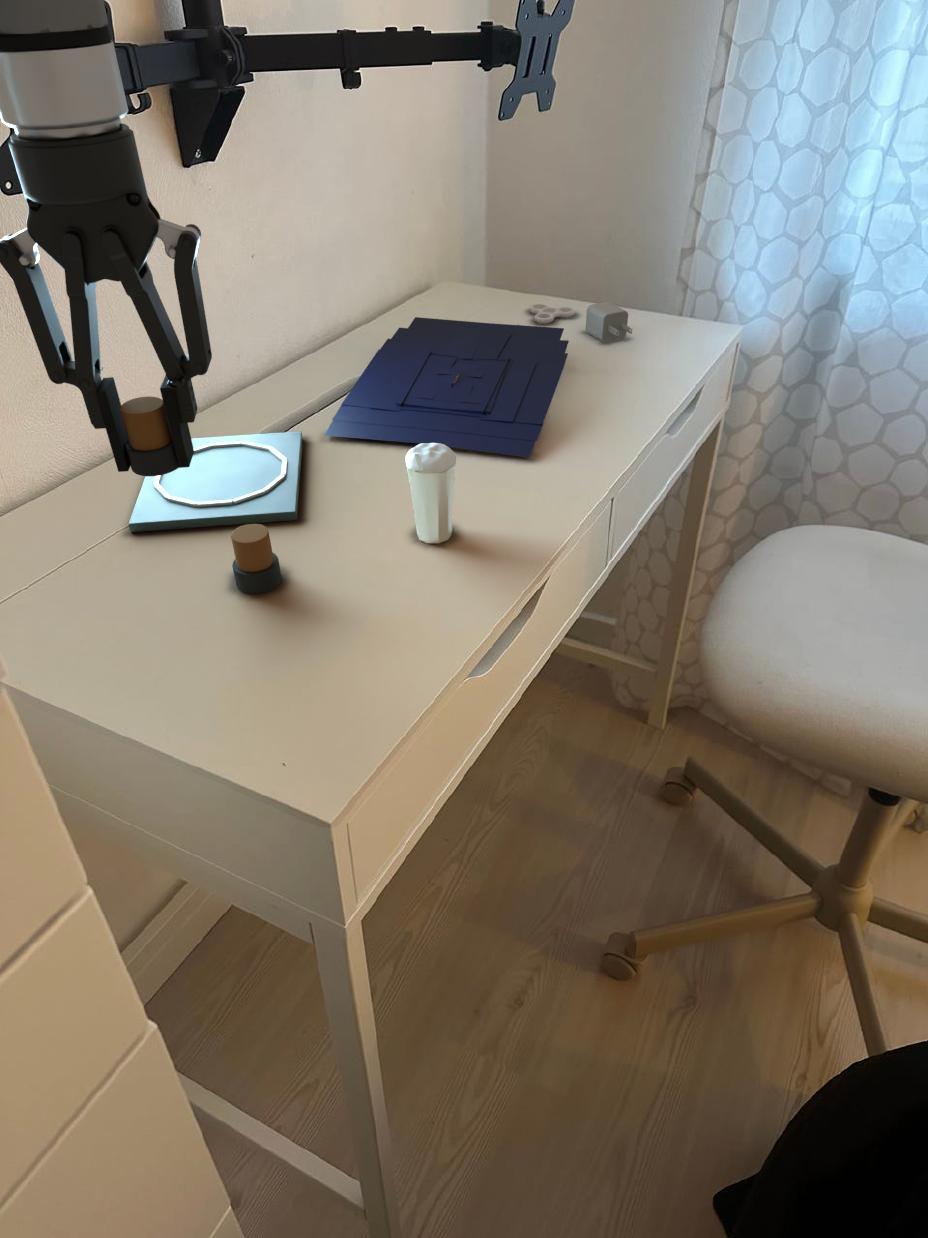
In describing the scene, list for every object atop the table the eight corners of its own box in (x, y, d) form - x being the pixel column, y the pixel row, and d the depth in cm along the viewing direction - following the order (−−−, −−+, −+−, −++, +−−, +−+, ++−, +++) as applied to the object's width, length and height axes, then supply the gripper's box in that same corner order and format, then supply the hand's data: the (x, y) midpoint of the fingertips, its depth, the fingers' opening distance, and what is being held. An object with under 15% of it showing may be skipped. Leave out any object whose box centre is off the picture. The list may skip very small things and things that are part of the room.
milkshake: (399, 547, 84) (392, 450, 77) (421, 519, 87) (415, 424, 81) (445, 556, 82) (441, 458, 76) (464, 526, 86) (462, 431, 80)
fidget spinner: (577, 312, 133) (577, 307, 133) (563, 326, 129) (563, 321, 128) (533, 307, 136) (533, 301, 135) (518, 320, 131) (518, 315, 131)
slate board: (130, 532, 87) (127, 521, 86) (159, 448, 101) (157, 437, 100) (296, 520, 88) (295, 508, 87) (302, 438, 102) (301, 428, 101)
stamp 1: (126, 478, 69) (109, 418, 66) (136, 454, 72) (120, 395, 69) (179, 474, 69) (164, 414, 66) (187, 450, 72) (173, 392, 69)
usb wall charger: (609, 328, 128) (611, 300, 126) (636, 344, 123) (639, 315, 121) (585, 333, 127) (587, 305, 124) (611, 349, 122) (614, 320, 119)
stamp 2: (234, 595, 78) (223, 547, 75) (238, 569, 81) (228, 522, 78) (280, 591, 78) (271, 543, 75) (282, 566, 81) (274, 519, 78)
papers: (577, 348, 119) (578, 322, 116) (531, 478, 98) (531, 450, 96) (403, 334, 124) (401, 309, 121) (325, 455, 103) (320, 428, 101)
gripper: (213, 110, 59) (269, 433, 74) (-50, 121, 58) (58, 446, 73) (198, 130, 54) (262, 476, 68) (-95, 143, 52) (32, 492, 67)
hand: (156, 460), depth 70 cm, fingers closed on stamp 1, 4 cm apart
